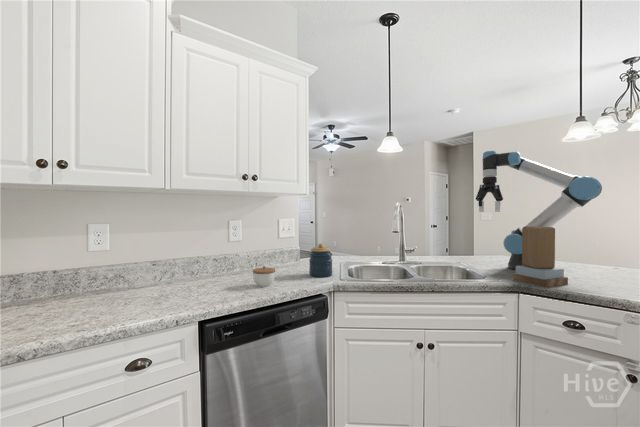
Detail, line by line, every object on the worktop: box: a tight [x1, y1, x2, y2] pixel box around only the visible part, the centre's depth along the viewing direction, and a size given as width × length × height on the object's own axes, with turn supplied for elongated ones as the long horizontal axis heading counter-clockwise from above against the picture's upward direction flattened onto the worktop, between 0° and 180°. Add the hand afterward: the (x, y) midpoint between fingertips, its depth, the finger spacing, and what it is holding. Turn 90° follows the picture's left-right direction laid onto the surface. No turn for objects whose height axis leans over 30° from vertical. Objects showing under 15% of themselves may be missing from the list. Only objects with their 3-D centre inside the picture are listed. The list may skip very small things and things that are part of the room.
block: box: [522, 225, 556, 269], centre depth 152 cm, size 10×10×20 cm
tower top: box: [515, 265, 565, 280], centre depth 152 cm, size 14×14×4 cm
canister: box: [308, 243, 333, 278], centre depth 171 cm, size 13×13×18 cm
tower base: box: [512, 272, 569, 288], centre depth 152 cm, size 16×16×4 cm
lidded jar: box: [252, 265, 276, 288], centre depth 148 cm, size 11×11×9 cm
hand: (489, 211), depth 187 cm, fingers open, 13 cm apart
